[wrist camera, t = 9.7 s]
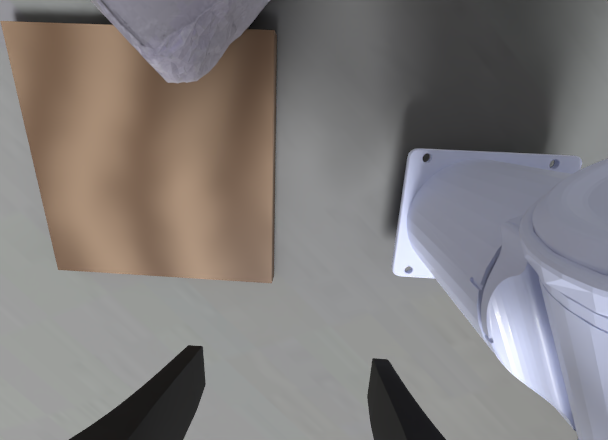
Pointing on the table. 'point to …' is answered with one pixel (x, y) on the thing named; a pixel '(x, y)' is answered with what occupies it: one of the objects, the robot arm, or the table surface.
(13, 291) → the table surface
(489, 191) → the robot arm
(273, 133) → the walnut pad
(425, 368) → the table surface
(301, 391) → the table surface
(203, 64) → the stone block
